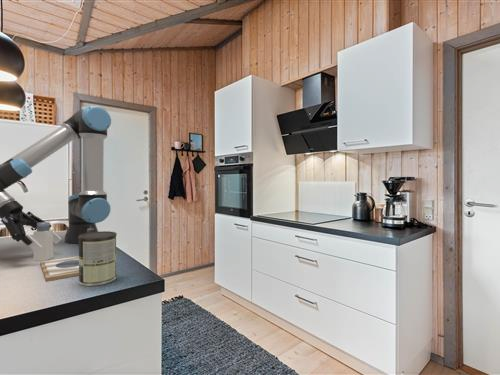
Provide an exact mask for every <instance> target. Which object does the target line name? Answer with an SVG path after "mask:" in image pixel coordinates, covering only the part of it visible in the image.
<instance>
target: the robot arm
mask: <svg viewBox="0 0 500 375" xmlns="http://www.w3.org/2000/svg"><path fill="white" fill-rule="evenodd" d="M111 124H112V118H111V115H110V114H109V112H108V111H107V110H106V109H105V108H104V107H103V106H102V107H101V106H99V105H87V106H85V107H84V108H83V109H79V110H78V111H76V112H75V113H74V114H72V115H71V116H70V117H69V118H68V119H67V120H65V121H63V122H62V123H61V124H60V125H61V126H59V127H58V128H56V129H55V130H53V131H52V132H51V133H48V134H47V135H46V136H44V137H43V138H41V139H39V140H38V141H36V142H35V143H33V144H31V145H29V146H28V147H26V148H25V149H23V150H22V151H20V152H18V153H17V154H15V155H14V156H12V157H11V158H9V159H8V160H6V161H4V162H2V163H0V219H1V220H0V222H1V223H2V224H3V225H4V226H5V228H6V230H7V231H8V234H9V236H11V238H12V240H13V241H16V242H20V241H21V242H23V243H24V245H26V246H27V247H29V248H30V249H31V251H32V252H33V253H34V252H35V253H36V252H38V251H39V250H40V249H41V248H42V246H41V245H40V244H39V243H38V242H37V241H35V240H34V239H33V236H31V235H30V234H27V233H26V230H25V227H24V226H26V227H31V228H33V229H36V230H37V223H40V222H46V221H45V220H43V219H41V218H40V217H38V216H36V215H35V214H33V213H32V212H31V211H28V212H26V213H25V212H24V211H23V209H24V206H23V205H22V204H21V203H20V202H18V200H15V198H14V196H12V195H11V194H10V193H8V192H7V191H6V189H7V188H9V187H11V186H12V185H15V184H16V183H19V181H21V180H22V179H24V178H25V179H26V178H27V177H28V176H30V175H31V174H32V173H33V169H32V168H33V167H35V166H36V165H38V164H39V163H41V162H43V161H44V160H45V159H47V158H48V157H51V155H53V154H55V153H56V152H57V151H59V150H60V149H62V148H64V147H65V146H66V145H68V144H69V143H71V142H73V141H79V140H80V139H82V190H81V191H80V192H79V193H78V194H72V195H70V196H69V197H68V202H67V204H68V227H67V229H66V233H65V236H64V243H67V244H79V239H78V236H79V235H81V234H85V233H87V229H88V228H89V227H90V226H91V227H92V228H94V229H95V232H99V230H98V227H97V223H101V222H103V221H105V220H107V218H109V215H110V214H111V209H112V208H111V204H110V203H109V200H108V199H107V198H108V193H107V192H106V191H105V189H104V152H105V151H104V142H105V139H107V138H108V129H109V128H110V126H111ZM107 200H108V201H107ZM51 227H52V225H51V224H50V230H52V229H51ZM61 240H62V238H61V237H60V236H59V235H58V234H57V233H56V232H55V231H53V244H58V243H60V241H61Z"/></svg>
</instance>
